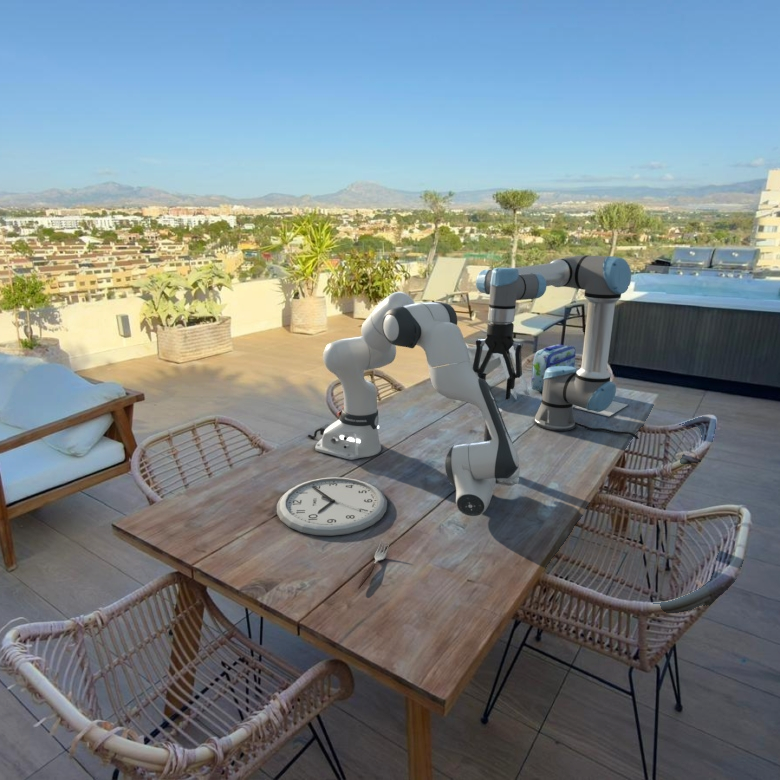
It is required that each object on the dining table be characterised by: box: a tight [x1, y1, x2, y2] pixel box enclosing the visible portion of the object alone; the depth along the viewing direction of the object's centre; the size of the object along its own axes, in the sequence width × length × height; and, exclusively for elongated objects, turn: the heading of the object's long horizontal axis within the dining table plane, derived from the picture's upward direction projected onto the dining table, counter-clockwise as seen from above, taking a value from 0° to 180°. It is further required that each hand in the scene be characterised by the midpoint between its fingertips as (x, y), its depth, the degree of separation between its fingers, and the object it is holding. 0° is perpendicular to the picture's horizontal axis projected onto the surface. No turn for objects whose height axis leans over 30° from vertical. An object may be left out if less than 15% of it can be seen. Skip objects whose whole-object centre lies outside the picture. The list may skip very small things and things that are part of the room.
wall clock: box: [276, 476, 388, 537], centre depth 142 cm, size 30×2×30 cm
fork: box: [357, 541, 391, 589], centre depth 116 cm, size 3×16×2 cm, turn 160°
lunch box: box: [530, 344, 577, 392], centre depth 247 cm, size 26×11×21 cm, turn 134°
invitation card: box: [573, 400, 629, 418], centre depth 226 cm, size 21×1×15 cm
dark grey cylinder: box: [483, 421, 492, 442], centre depth 163 cm, size 4×4×19 cm
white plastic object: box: [448, 343, 531, 400], centre depth 245 cm, size 37×45×31 cm
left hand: (487, 459), depth 159 cm, fingers open, 8 cm apart
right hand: (494, 396), depth 159 cm, fingers open, 7 cm apart
